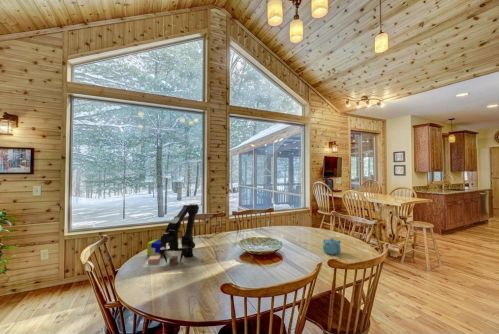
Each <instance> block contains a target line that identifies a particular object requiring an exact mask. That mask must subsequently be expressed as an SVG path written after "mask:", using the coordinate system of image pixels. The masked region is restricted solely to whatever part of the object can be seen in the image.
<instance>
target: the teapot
mask: <svg viewBox="0 0 499 334" xmlns="http://www.w3.org/2000/svg"><path fill="white" fill-rule="evenodd" d="M322 241H323V244H322V251H323V252H324V254H326V253H327V254H329V255H330V256H331V255H339V254H341V252H342V249H341V243H342V241H341V240H339V239H338V240H337V239H334V238H332V237H331V238H328V239H326V238H325V239H323V240H322Z"/></svg>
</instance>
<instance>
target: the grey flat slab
mask: <svg viewBox="0 0 499 334" xmlns="http://www.w3.org/2000/svg"><path fill="white" fill-rule="evenodd" d="M169 259H170V257H167V263H166V261H165V259H164V257H163V258H160V262H159V263H155V264H148V259H146V260H145V262H144V264H143V265H142V268H155V267H168V265H169Z"/></svg>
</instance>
